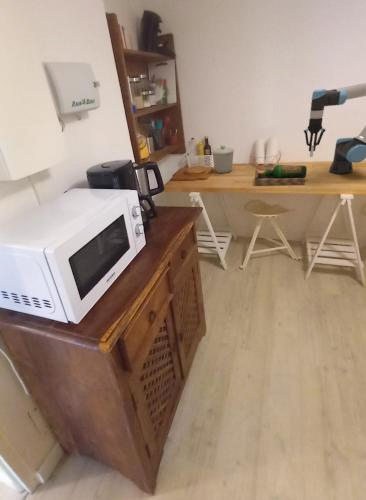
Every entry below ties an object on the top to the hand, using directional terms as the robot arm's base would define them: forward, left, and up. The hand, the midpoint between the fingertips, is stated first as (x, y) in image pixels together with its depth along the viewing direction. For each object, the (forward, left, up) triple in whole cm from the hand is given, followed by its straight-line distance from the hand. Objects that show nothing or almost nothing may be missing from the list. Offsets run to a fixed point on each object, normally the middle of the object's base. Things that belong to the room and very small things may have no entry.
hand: (311, 156), depth 193 cm
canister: (+62, -29, -17) cm, 70 cm away
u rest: (+20, 0, -17) cm, 26 cm away
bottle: (+2, -1, -11) cm, 11 cm away
